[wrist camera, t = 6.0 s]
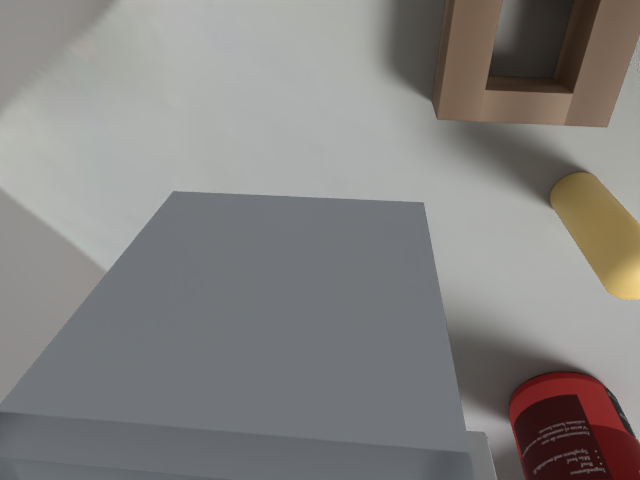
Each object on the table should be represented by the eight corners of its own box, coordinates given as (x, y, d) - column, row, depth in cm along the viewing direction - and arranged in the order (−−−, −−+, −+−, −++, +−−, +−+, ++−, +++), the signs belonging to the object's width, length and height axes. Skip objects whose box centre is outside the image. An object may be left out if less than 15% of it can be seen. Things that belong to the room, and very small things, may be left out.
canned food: (592, 440, 39) (658, 595, 30) (494, 426, 39) (529, 576, 30) (631, 376, 35) (723, 533, 25) (521, 362, 35) (571, 512, 26)
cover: (423, 202, 11) (500, 614, 4) (392, 442, 16) (405, 815, 9) (173, 191, 11) (-114, 543, 5) (216, 427, 16) (104, 769, 10)
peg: (608, 173, 27) (684, 251, 20) (592, 216, 28) (658, 302, 22) (557, 170, 27) (615, 246, 20) (544, 213, 29) (594, 297, 22)
